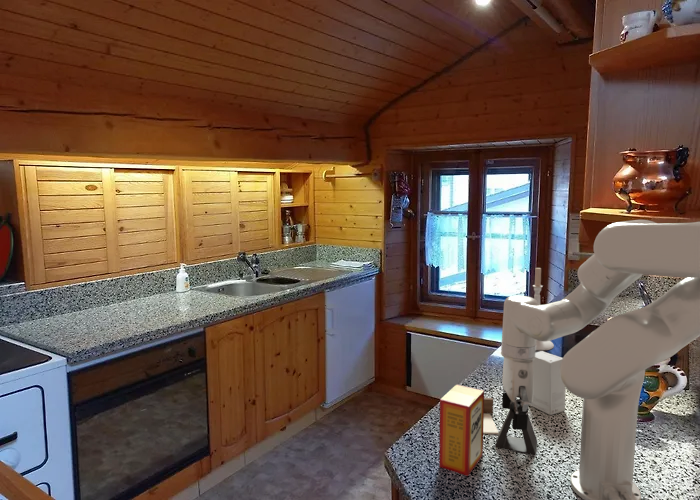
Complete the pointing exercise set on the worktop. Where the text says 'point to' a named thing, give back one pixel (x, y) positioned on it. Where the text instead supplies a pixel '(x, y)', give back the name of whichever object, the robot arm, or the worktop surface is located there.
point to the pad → (489, 425)
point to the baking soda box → (461, 429)
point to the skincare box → (548, 384)
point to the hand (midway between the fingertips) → (513, 418)
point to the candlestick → (537, 288)
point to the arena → (488, 405)
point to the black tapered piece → (514, 443)
